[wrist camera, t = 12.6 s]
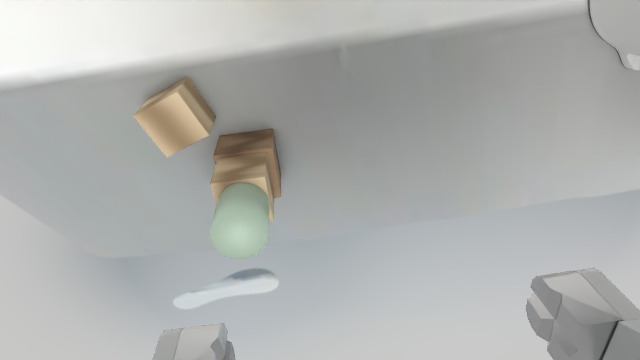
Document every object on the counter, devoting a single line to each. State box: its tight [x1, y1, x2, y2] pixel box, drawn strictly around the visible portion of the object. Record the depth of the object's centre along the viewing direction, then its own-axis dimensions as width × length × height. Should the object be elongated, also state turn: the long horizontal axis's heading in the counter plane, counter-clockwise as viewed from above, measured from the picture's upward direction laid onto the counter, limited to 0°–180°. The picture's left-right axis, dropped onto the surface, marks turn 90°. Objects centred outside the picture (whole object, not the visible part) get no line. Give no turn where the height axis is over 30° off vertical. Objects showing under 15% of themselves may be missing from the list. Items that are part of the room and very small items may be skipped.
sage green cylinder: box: [210, 182, 269, 259], centre depth 35 cm, size 5×5×5 cm
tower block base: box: [213, 129, 281, 198], centre depth 43 cm, size 6×6×5 cm
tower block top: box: [210, 152, 274, 221], centre depth 39 cm, size 5×5×5 cm
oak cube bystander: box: [133, 77, 216, 157], centre depth 40 cm, size 5×5×5 cm
